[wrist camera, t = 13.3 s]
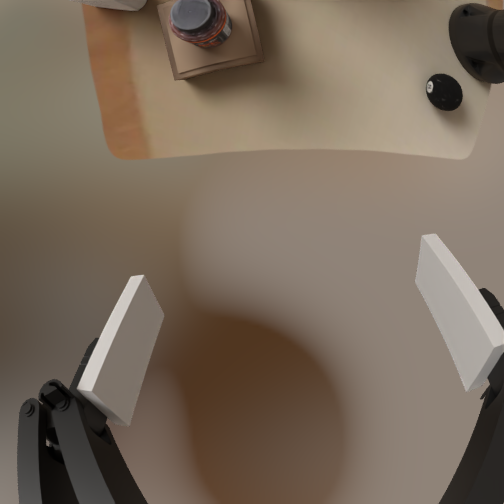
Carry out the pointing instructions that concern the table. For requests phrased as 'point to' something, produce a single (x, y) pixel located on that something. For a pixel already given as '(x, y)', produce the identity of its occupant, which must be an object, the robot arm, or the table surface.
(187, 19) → the supplement bottle
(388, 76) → the table surface
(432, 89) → the billiard ball
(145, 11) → the table surface
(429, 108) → the table surface
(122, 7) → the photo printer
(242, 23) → the wooden box
